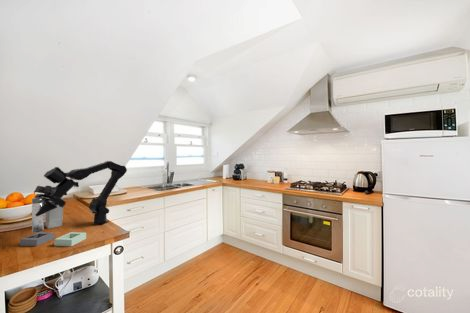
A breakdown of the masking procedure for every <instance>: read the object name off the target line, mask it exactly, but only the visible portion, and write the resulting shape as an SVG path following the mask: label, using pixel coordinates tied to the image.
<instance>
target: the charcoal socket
mask: <svg viewBox="0 0 470 313" xmlns="http://www.w3.org/2000/svg"><path fill="white" fill-rule="evenodd" d="M54 239H55V232H49V231H48V232H45V231H44V232H43V231H41V232H36V233H33V234H31V235H27V236H25V237H22V238H20V239H19V246H21V247H22V246H23V247H24V246H25V247H38V246H41V245H43V244H45V243H47V242H49V241H53V240H54Z"/></svg>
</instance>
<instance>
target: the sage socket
mask: <svg viewBox="0 0 470 313" xmlns="http://www.w3.org/2000/svg"><path fill="white" fill-rule="evenodd" d="M86 239H87V232H75V231H72V232H71V231H70V232H68V233H66V234H63V235H61V236H59V237H57V238H54V239H53V240H54V242H53V243H54V244H53V245H54V246H55V247H57V246H58V247H73V246H76V245H77V244H79V243H80V242H83V241H84V240H86Z"/></svg>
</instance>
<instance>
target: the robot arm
mask: <svg viewBox="0 0 470 313" xmlns="http://www.w3.org/2000/svg"><path fill="white" fill-rule="evenodd" d="M106 169H108V170H110V171H111V172H110V173H111V174H110V177H109V178H108V181H107V182H106V184H105V185H104V187H103V189H102V191H101V192H100V194H99V195H98V197H96V198H95V197H94V198H92V199H91V202H90V203H89V206H88V209H89V210H90V212H91V213H92V214H94V216H93V223H91V225H93V226H102V225H105V224H107V223H108V222H109V220H107V214H109V213H110V209H109V208H107V207H106V206H107V201H108V197H109V196H110V195H111V193H112V192H113V190H114V188H115V186H116V185H117V183H118V181H119V180H120V179H121V178H122V177H123V176H125V174H126V173H127V171H128V169H127V166H125V165H121V164H118V163H115V162H114V161H111V160H106V161H104V162H100V163H98V164H94V165H91V166H88V167H84V168H76V169H71V170H69V171H68V172H64V171H63V170H62V169H61V168H60V167H59V166H55V167H54V168H52V169H50V170H48V171H46V172H45V173H44V175H43V178H45V179H47V180H48V181H50V182H52V183H53V184H57V185H56V186H51V185H45V186H41V185H37V186H36V188H35V189H34V191H33V193H37V194H35V196H33V198H40V197H43V198H44V205H43V206H42V208H41V209H40V210H39V211H38V212H37V213H36V215H35V216H40V215H42V214H44V215H45V214H46V212H48V211H50V210H52V209H55V208H57V205H59V207H63V208H64V206H66V203H67V202H66V201H65V200H63V197H64V196H67V195H68V192H69V191H70V190H71V189H72V188H73V187H75V188H79V186H80V185H79V182H78V181H81V180H84V179H86V178H88V177H89V176H90V175H92V174H96V173H97V172H101V171H103V170H106ZM30 213H31V214H30V215H32V212H30Z"/></svg>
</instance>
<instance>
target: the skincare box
mask: <svg viewBox="0 0 470 313" xmlns="http://www.w3.org/2000/svg"><path fill="white" fill-rule="evenodd" d="M63 216H64V206H63V207H59V205H57V208H55V209H52V210H50V211H48V212H46V213H45V220H44V221H45V222H44V227H46V228H47V229H49V230H50V229H53V228H58V227H62V226H63Z"/></svg>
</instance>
